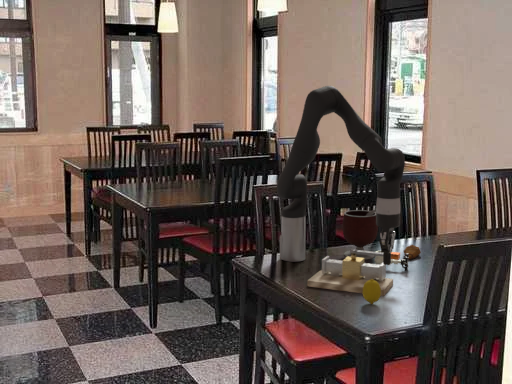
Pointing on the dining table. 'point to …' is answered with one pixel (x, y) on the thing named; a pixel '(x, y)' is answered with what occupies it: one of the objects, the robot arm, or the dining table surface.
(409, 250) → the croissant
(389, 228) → the robot arm
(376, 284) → the lemon
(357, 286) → the valve board
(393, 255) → the valve lever
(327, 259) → the pipe valve
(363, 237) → the mate gourd
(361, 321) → the dining table surface
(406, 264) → the valve
